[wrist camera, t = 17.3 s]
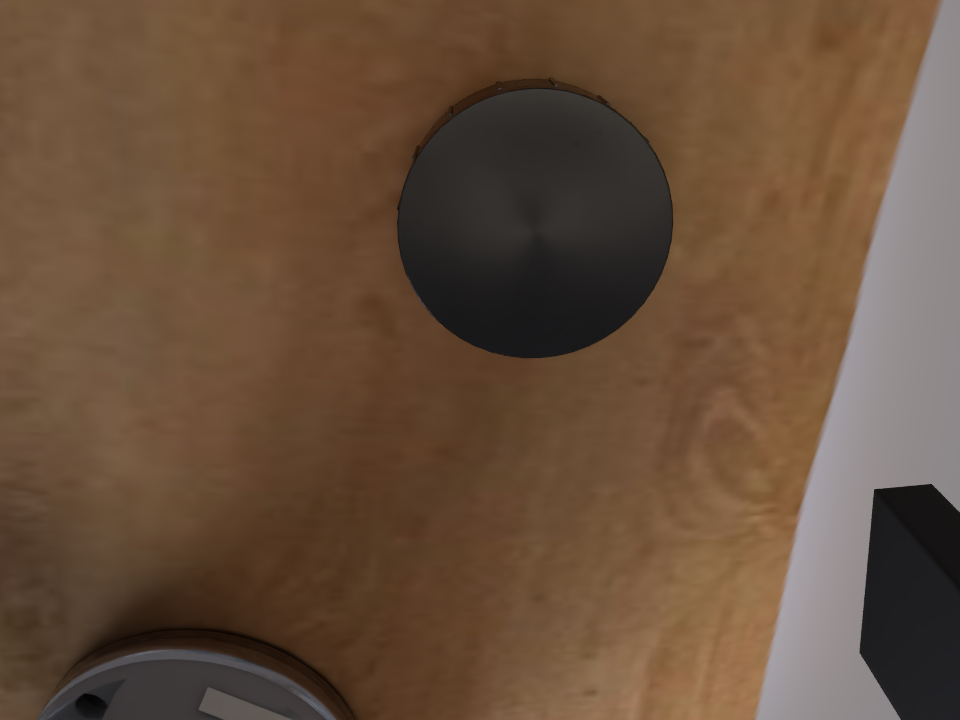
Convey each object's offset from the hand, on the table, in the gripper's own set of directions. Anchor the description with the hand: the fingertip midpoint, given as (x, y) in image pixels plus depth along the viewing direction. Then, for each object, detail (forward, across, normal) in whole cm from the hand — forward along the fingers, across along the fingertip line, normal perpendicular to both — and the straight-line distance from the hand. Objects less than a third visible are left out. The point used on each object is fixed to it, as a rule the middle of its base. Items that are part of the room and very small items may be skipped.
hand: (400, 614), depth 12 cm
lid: (+19, +3, +1) cm, 19 cm away
